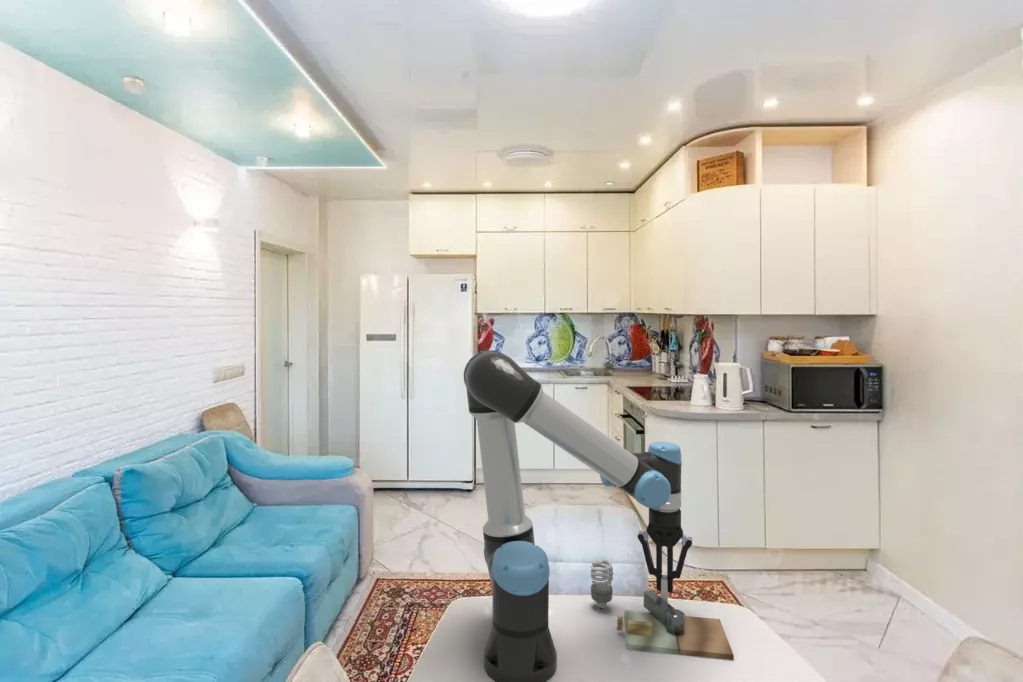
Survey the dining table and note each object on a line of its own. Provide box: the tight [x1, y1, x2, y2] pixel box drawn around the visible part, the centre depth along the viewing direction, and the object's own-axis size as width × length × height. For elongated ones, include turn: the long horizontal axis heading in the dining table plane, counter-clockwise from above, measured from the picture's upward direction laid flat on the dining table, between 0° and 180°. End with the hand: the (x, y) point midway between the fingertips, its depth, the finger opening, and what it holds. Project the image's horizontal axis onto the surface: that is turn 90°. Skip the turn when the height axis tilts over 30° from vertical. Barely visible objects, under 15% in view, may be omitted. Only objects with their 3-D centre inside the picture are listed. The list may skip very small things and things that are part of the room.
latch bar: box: [643, 589, 686, 635], centre depth 126 cm, size 13×4×4 cm, turn 19°
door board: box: [616, 610, 735, 661], centre depth 122 cm, size 24×14×4 cm, turn 80°
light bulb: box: [590, 559, 614, 609], centre depth 134 cm, size 6×6×12 cm
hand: (664, 603), depth 130 cm, fingers closed
